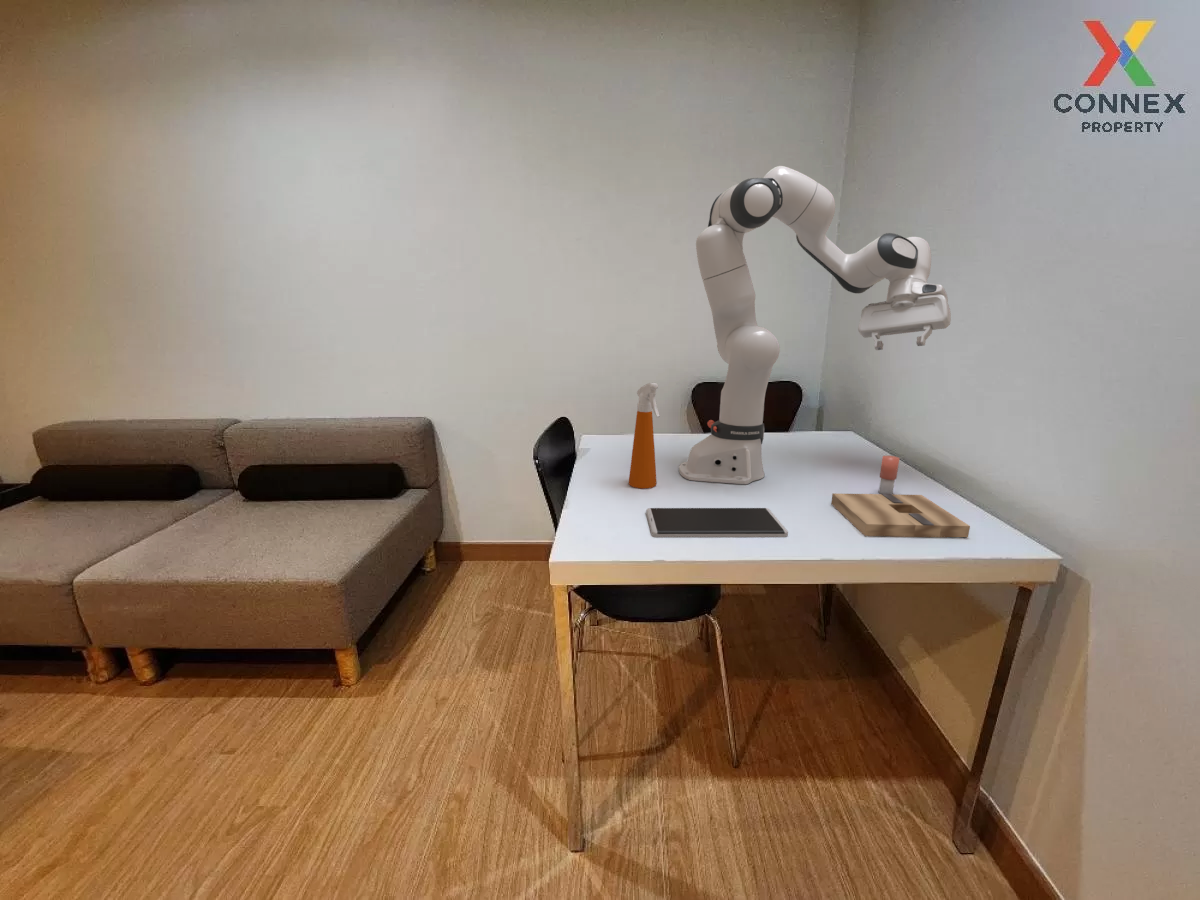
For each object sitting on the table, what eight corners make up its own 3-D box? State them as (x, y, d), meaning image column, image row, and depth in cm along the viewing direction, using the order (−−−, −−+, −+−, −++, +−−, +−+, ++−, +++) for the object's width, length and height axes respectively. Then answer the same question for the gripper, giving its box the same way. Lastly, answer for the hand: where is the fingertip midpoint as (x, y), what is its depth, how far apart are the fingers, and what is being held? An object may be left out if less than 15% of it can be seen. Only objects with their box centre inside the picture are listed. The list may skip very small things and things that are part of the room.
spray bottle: (642, 495, 132) (645, 385, 125) (624, 481, 141) (625, 379, 134) (668, 491, 134) (673, 383, 127) (648, 478, 144) (651, 377, 137)
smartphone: (788, 539, 109) (789, 531, 108) (652, 540, 108) (652, 531, 108) (768, 514, 122) (768, 506, 121) (645, 514, 121) (645, 507, 121)
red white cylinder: (881, 495, 132) (886, 459, 130) (874, 490, 136) (879, 455, 133) (896, 495, 132) (902, 459, 130) (889, 490, 136) (895, 455, 133)
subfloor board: (864, 536, 109) (866, 523, 109) (831, 503, 127) (832, 492, 126) (967, 537, 109) (970, 525, 108) (919, 505, 126) (921, 494, 125)
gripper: (859, 298, 144) (850, 345, 141) (949, 283, 130) (943, 335, 127) (866, 311, 149) (858, 357, 145) (955, 298, 134) (949, 348, 131)
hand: (898, 346), depth 136 cm, fingers open, 8 cm apart
